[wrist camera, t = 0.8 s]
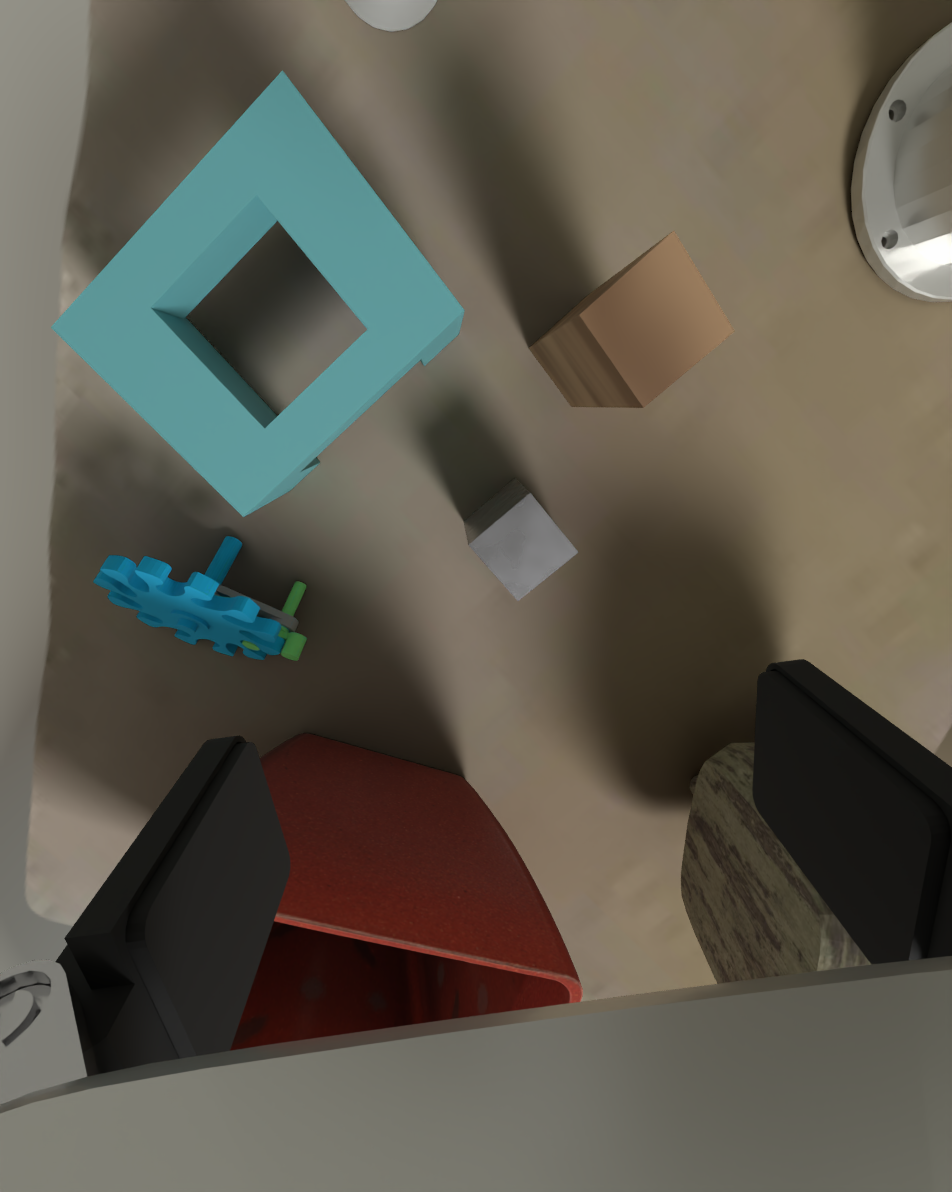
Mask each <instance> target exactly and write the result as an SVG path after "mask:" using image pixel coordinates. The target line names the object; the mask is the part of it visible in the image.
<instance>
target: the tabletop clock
mask: <svg viewBox="0 0 952 1192" xmlns="http://www.w3.org/2000/svg"><path fill="white" fill-rule="evenodd" d="M754 746H755V743H730V744H728V745H727V746H726V747H724V748H723V749H722V750H720V751H719V752H717V753H716V754H715V755H713V756H712V757H711V758H709V759H708V760H706V761H705V763H704V764H703V766H702V768H701V769H700V772H699V775H698V776H695V777H693V778H692V780H691V781H690V789H691V792H692V793H693V794H694V796H693V800H692V805H691V810H690V815H689V820H688V825H687V832H686V840H685V847H684V854H683V861H682V870H681V891H682V898H683V902H684V905H685V908H686V911H687V914H688V917H689V920H690V922H691V925H692V927H693V930H694V932H695V935H696V937H697V939H698V941H699V944H700V946H701V948H702V950H703V953H704V955H705V957H706V959H707V961H708V964H709V966H710V968H711V970H712V973H713V975H714V977H715V979H716V981H717V984H721V983H729V982H737V981H744V980H752V979H760V978H768V977H776V976H784V975H792V974H800V973H807V972H815V971H823V970H831V969H839V968H847V967H855V966H863V965H871V963H870V962H869V961H868V959H867V958H866V957H865V955H864V954H863V953H862V951H861V950H860V949H859V947H858V946H857V945H856V943H855V942H854V941H853V939H852V938H851V937H850V935H849V934H848V932H847V931H846V930H845V928H844V927H843V926H842V924H841V923H840V922H839V920H838V919H837V918H836V916H835V915H834V914H833V912H832V911H831V910H830V908H829V907H828V905H827V904H826V903H825V901H824V900H823V899H822V897H821V896H820V895H819V893H818V892H817V891H816V889H815V888H814V887H813V885H812V884H811V883H810V881H809V880H808V879H807V877H806V876H805V874H804V873H803V872H802V870H801V869H800V868H799V866H798V865H797V864H796V862H795V861H794V860H793V858H792V857H791V856H790V854H789V853H788V852H787V850H786V849H785V848H784V846H783V845H782V843H781V842H780V841H779V839H778V838H777V837H776V835H775V834H774V833H773V831H772V830H771V829H770V827H769V826H768V825H767V823H766V822H765V821H764V819H763V818H762V816H761V815H760V814H759V812H758V810H757V808H756V806H755V803H754V800H753V794H752V787H753V766H754Z"/></svg>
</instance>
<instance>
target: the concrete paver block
mask: <svg viewBox="0 0 952 1192" xmlns="http://www.w3.org/2000/svg"><path fill="white" fill-rule="evenodd" d="M464 526H465V531H466V535H467V540H468V545H469V546H470V547H471V548H472V550H473V551H474V552H475V553H476V554H477V555H478V556H479V558H480V559H481V560H482V561H483V562H484V563H485V564H486V565H487V567H488V568H489V569H490V570H491V571H492V572H493V573H494V575H495V576H496V577H497V578H498V579H499V580H500V581H501V583H502V584H503V585H504V586H505V587H506V588H507V589H508V591H509V592H510V593H511V594H512V595H513V596H514V597H515V598H516V600H517V601H519V600H520V599H521V598H522V597H524V596H525V595H526V594H527V593H529V592H530V591H531V590H532V589H534V588H535V587H536V586H537V585H539V584H540V583H541V582H542V581H544V580H545V579H546V578H547V577H549V576H550V575H551V574H552V573H554V572H555V571H556V570H557V569H559V568H560V567H561V566H562V565H564V564H565V563H566V562H567V561H568V560H570V559H571V558H572V557H573V556H575V555H576V554H577V553H578V551H577V550H576V549H575V547H574V546H573V545H572V544H571V543H570V541H569V540H568V539H567V538H566V536H565V535H564V534H563V533H562V531H561V530H560V529H559V528H558V526H557V525H556V524H555V523H554V521H553V520H552V519H551V518H550V516H549V515H548V514H547V513H546V512H545V510H544V509H543V508H542V507H541V505H540V504H539V503H538V502H537V500H536V499H535V498H534V497H533V495H532V494H531V493H530V492H529V491H528V490H527V489H526V488H525V487H524V486H523V485H522V484H521V483H520V482H519V481H518V480H517V479H516V478H514V479H513V480H512V481H511V482H510V483H508V484H507V485H506V486H505V487H504V488H502V489H501V490H500V491H499V492H498V493H497V494H495V495H494V496H493V497H492V498H491V499H490V500H488V501H487V502H486V503H485V504H484V505H483V506H481V507H480V508H479V509H478V510H477V511H475V512H474V513H473V514H472V515H471V516H470V517H468V518H467V519H466V520H465V521H464Z"/></svg>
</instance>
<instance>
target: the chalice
mask: <svg viewBox="0 0 952 1192" xmlns="http://www.w3.org/2000/svg"><path fill="white" fill-rule="evenodd" d="M345 1H346V2H347V4H348V5H349V6H350V7H351V9H352V10H353V11H354V12H355V14H356V15H357V16H358V17H359V18H361V19H362V20H364V21H365V22H367V23H368V24H369V25H371V26H372V27H374V28H378V29H382V30H386V31H390V32H392V31H398V30H405V29H409V28H410V27H412V26H414V25H415V24H417V23H419V22H420V21H422V20H423V19H424V18H425V17H426V16H427V14H428V13H429V12H430V11H431V9H432V8H433V7H434V6H435V4H436V1H437V0H345Z"/></svg>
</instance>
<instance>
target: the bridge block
mask: <svg viewBox="0 0 952 1192" xmlns="http://www.w3.org/2000/svg"><path fill="white" fill-rule="evenodd" d="M277 221H278V222H279V223H280V224H281V225H282V226H283V228H284V229H285V230H286V231H287V232H288V234H289V235H290V236H291V237H292V239H293V240H294V241H295V242H296V243H297V245H298V246H299V247H300V248H301V249H302V251H303V252H304V253H305V254H306V256H307V257H308V258H309V259H310V260H311V262H312V263H313V264H314V265H315V266H316V268H317V269H318V270H319V271H320V272H321V274H322V275H323V276H324V277H325V279H326V280H327V281H328V282H329V283H330V285H331V286H332V287H333V288H334V289H335V291H336V292H337V293H338V294H339V295H340V297H341V298H342V299H343V300H344V302H345V303H346V304H347V305H348V306H349V308H350V309H351V310H352V311H353V312H354V314H355V315H356V316H357V317H358V318H359V320H360V321H361V322H362V323H363V325H364V326H365V327H366V328H367V330H366V331H365V332H364V333H363V334H362V335H361V336H360V337H359V338H358V339H357V340H356V341H355V342H354V343H353V344H352V345H351V346H350V347H349V348H348V349H347V350H346V351H345V352H344V353H343V354H342V355H341V356H340V357H338V358H337V359H336V360H335V361H334V362H333V363H332V364H331V365H330V366H329V367H328V368H327V369H326V370H325V371H324V372H323V373H322V374H321V375H320V376H319V377H318V378H317V379H316V380H315V381H314V382H313V383H312V384H310V385H309V386H308V387H307V388H306V389H305V390H304V391H303V392H302V393H301V394H300V395H299V396H298V397H297V398H296V399H295V400H294V401H293V402H292V403H291V404H290V405H289V406H288V407H287V408H286V409H285V410H284V411H282V412H281V413H280V414H279V415H278V416H277V415H276V414H275V413H274V412H273V411H272V410H271V409H270V408H269V407H268V405H267V404H266V403H265V402H264V401H263V400H262V399H261V398H260V397H259V396H258V395H257V394H256V393H255V391H254V390H253V389H252V388H251V387H250V386H249V385H248V384H247V383H246V382H245V381H244V380H243V379H242V377H241V376H240V375H239V374H238V373H237V372H236V371H235V370H234V369H233V368H232V367H231V366H230V365H229V363H228V362H227V361H226V360H225V359H224V358H223V357H222V356H221V355H220V354H219V353H218V352H217V351H216V349H215V348H214V347H213V346H212V345H211V344H210V343H209V342H208V341H207V340H206V339H205V338H204V337H203V335H202V334H201V333H200V332H199V331H198V330H197V329H196V328H195V327H194V326H193V325H192V324H191V323H190V321H189V320H188V319H187V318H186V316H187V315H188V314H189V313H190V312H191V311H192V310H193V309H194V308H195V307H196V306H197V305H198V304H199V303H200V302H201V300H202V299H203V298H204V297H205V296H206V295H207V294H208V293H209V292H210V291H211V290H212V289H213V288H214V287H215V286H216V285H217V284H218V283H219V282H220V281H221V280H222V278H223V277H224V276H225V275H226V274H227V273H228V272H229V271H230V270H231V269H232V268H233V267H234V266H235V265H236V264H237V263H238V262H239V261H240V260H241V259H242V257H243V256H244V255H245V254H246V253H247V252H248V251H249V250H250V249H251V248H252V247H253V246H254V245H255V244H256V243H257V242H258V241H259V240H260V239H261V238H262V237H263V235H264V234H265V233H266V232H267V231H268V230H269V229H270V228H271V227H272V226H273V225H274V224H275V223H276V222H277ZM464 311H465V310H464V309H463V308H462V306H461V305H460V304H459V303H458V301H457V300H456V299H455V297H454V296H453V295H452V293H451V292H450V291H449V289H448V288H447V287H446V285H445V284H444V283H443V281H442V280H441V279H440V277H439V276H438V275H437V274H436V272H435V271H434V270H433V268H432V267H431V266H430V264H429V263H428V262H427V260H426V259H425V258H424V256H423V255H422V254H421V252H420V251H419V250H418V248H417V247H416V246H415V244H414V243H413V242H412V241H411V239H410V238H409V237H408V235H407V234H406V233H405V231H404V230H403V229H402V227H401V226H400V225H399V223H398V222H397V221H396V219H395V218H394V217H393V215H392V214H391V213H390V212H389V210H388V209H387V208H386V206H385V205H384V204H383V202H382V201H381V200H380V198H379V197H378V196H377V194H376V193H375V192H374V190H373V189H372V188H371V186H370V185H369V184H368V183H367V181H366V180H365V179H364V177H363V176H362V175H361V173H360V172H359V171H358V169H357V168H356V167H355V165H354V164H353V163H352V161H351V160H350V159H349V157H348V156H347V155H346V154H345V152H344V151H343V150H342V148H341V147H340V146H339V144H338V143H337V142H336V140H335V139H334V138H333V136H332V135H331V134H330V132H329V131H328V130H327V128H326V127H325V126H324V125H323V123H322V122H321V121H320V119H319V118H318V117H317V115H316V114H315V113H314V111H313V110H312V109H311V107H310V106H309V105H308V103H307V102H306V101H305V99H304V98H303V97H302V96H301V94H300V93H299V92H298V90H297V89H296V88H295V86H294V85H293V84H292V82H291V81H290V80H289V78H288V77H287V76H286V74H285V73H284V72H283V70H282V71H281V72H280V74H279V75H278V76H277V77H276V78H275V79H274V80H273V81H272V82H271V84H270V85H269V86H268V87H267V88H266V89H265V90H264V91H263V92H262V94H261V95H260V96H259V97H258V98H257V99H256V100H255V101H254V102H253V104H252V105H251V106H250V107H249V108H248V109H247V110H246V111H245V112H244V114H243V115H242V116H241V117H240V118H239V119H238V120H237V121H236V122H235V124H234V125H233V126H232V127H231V128H230V129H229V130H228V131H227V132H226V133H225V135H224V136H223V137H222V138H221V139H220V140H219V141H218V142H217V143H216V145H215V146H214V147H213V148H212V149H211V150H210V151H209V152H208V153H207V155H206V156H205V157H204V158H203V159H202V160H201V161H200V162H199V163H198V165H197V166H196V167H195V168H194V169H193V170H192V171H191V172H190V173H189V175H188V176H187V177H186V178H185V179H184V180H183V181H182V182H181V183H180V185H179V186H178V187H177V188H176V189H175V190H174V191H173V192H172V193H171V195H170V196H169V197H168V198H167V199H166V200H165V201H164V202H163V203H162V205H161V206H160V207H159V208H158V209H157V210H156V211H155V212H154V213H153V215H152V216H151V217H150V218H149V219H148V220H147V221H146V222H145V223H144V225H143V226H142V227H141V228H140V229H139V230H138V231H137V232H136V233H135V235H134V236H133V237H132V238H131V239H130V240H129V241H128V242H127V243H126V245H125V246H124V247H123V248H122V249H121V250H120V251H119V252H118V253H117V255H116V256H115V257H114V258H113V259H112V260H111V261H110V262H109V263H108V265H107V266H106V267H105V268H104V269H103V270H102V271H101V272H100V273H99V274H98V276H97V277H96V278H95V279H94V280H93V281H92V282H91V283H90V284H89V286H88V287H87V288H86V289H85V290H84V291H83V292H82V293H81V294H80V296H79V297H78V298H77V299H76V300H75V301H74V302H73V303H72V304H71V306H70V307H69V308H68V309H67V310H66V311H65V312H64V313H63V314H62V316H61V317H60V318H59V319H58V320H57V321H56V322H55V323H54V324H53V326H52V327H51V328H52V329H53V330H54V331H55V332H56V333H57V334H58V335H59V336H60V337H61V338H62V339H63V340H64V341H65V342H66V343H67V344H68V345H69V346H70V347H71V348H72V349H73V350H74V351H75V352H76V353H77V354H78V355H79V356H80V357H81V358H82V359H83V360H84V361H85V362H86V363H88V364H89V365H90V366H91V367H92V368H93V369H94V370H95V371H96V372H97V373H98V374H99V375H100V376H101V377H102V378H103V379H104V380H105V381H106V382H107V383H108V384H109V385H110V386H111V387H112V388H113V389H114V390H115V391H116V392H117V393H118V394H119V395H120V396H121V397H122V398H123V399H124V400H125V401H126V402H127V403H128V404H129V405H130V406H131V407H132V408H133V409H134V410H135V411H136V412H137V413H138V414H139V415H140V416H141V417H142V418H143V419H144V420H145V421H146V422H147V423H148V424H149V425H150V426H151V427H152V428H153V429H155V430H156V431H157V432H158V433H159V434H160V435H161V436H162V437H163V438H164V439H165V440H166V441H167V442H168V443H169V444H170V445H171V446H172V447H173V448H174V449H175V450H176V451H177V452H178V453H179V454H180V455H181V456H182V457H183V458H184V459H185V460H186V461H187V462H188V463H189V464H190V465H191V466H192V467H193V468H194V469H195V470H196V471H197V472H198V473H199V474H200V475H201V476H202V477H203V478H204V479H205V480H206V481H207V482H208V483H209V484H210V485H211V486H212V487H213V488H214V489H215V490H216V491H217V492H218V493H219V494H220V495H222V496H223V497H224V498H225V499H226V500H227V501H228V502H229V503H230V504H231V505H232V506H233V507H234V508H235V509H236V510H237V511H238V512H239V513H240V514H241V515H242V516H243V517H245V516H246V515H248V514H250V513H252V512H254V511H255V510H257V509H259V508H261V507H262V506H264V505H266V504H268V503H269V502H271V501H273V500H275V499H277V498H278V497H280V496H282V495H284V494H285V493H287V492H289V491H290V490H291V489H292V488H294V487H295V486H296V485H297V484H298V483H299V482H300V481H301V480H302V479H303V478H304V477H305V476H307V475H308V474H309V473H310V472H311V471H312V470H313V469H314V468H315V467H316V466H317V465H318V464H319V463H320V462H319V460H318V459H317V458H316V457H317V456H318V455H319V454H320V453H321V452H322V451H323V450H324V449H325V448H326V447H327V446H328V445H330V444H331V443H332V442H333V441H334V440H335V439H336V438H337V437H338V436H339V435H340V434H341V433H342V432H343V431H345V430H346V429H347V428H348V427H349V426H350V425H351V424H352V423H353V422H354V421H355V420H356V419H357V418H358V417H360V416H361V415H362V414H363V413H364V412H365V411H366V410H367V409H368V408H369V407H370V406H371V405H372V404H374V403H375V402H376V401H377V400H378V399H379V398H380V397H381V396H382V395H383V394H384V393H385V392H386V391H387V390H389V389H390V388H391V387H392V386H393V385H394V384H395V383H396V382H397V381H398V380H399V379H400V378H401V377H402V376H404V375H405V374H406V373H407V372H408V371H409V370H410V369H411V368H412V367H413V366H414V365H415V364H416V363H418V362H419V361H421V362H422V364H423V365H424V366H425V365H426V364H427V363H428V362H429V361H430V360H432V359H433V358H434V357H435V356H436V355H437V354H438V353H439V352H440V351H441V350H442V349H443V348H444V347H446V346H447V345H448V344H449V343H450V342H451V341H452V340H453V339H454V338H455V337H456V336H457V335H458V334H459V331H460V327H461V323H462V319H463V315H464Z"/></svg>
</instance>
